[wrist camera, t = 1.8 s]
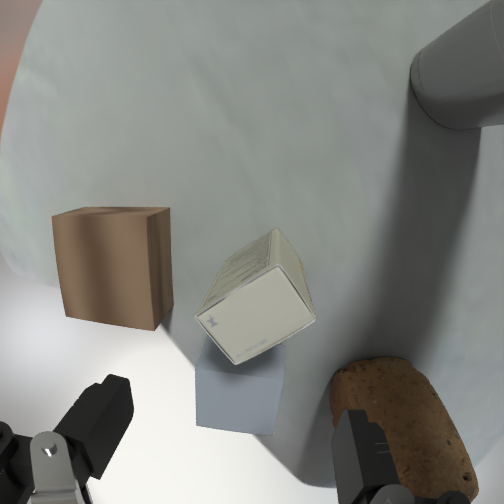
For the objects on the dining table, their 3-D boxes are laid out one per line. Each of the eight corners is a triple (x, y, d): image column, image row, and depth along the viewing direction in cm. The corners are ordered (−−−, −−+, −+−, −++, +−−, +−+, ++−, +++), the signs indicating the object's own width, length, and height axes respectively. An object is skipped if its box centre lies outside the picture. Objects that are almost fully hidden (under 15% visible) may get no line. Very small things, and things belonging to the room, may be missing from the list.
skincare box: (249, 295, 31) (233, 369, 19) (222, 259, 30) (189, 317, 18) (304, 262, 29) (320, 323, 18) (278, 223, 29) (278, 262, 17)
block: (422, 357, 31) (496, 487, 12) (397, 404, 33) (443, 532, 14) (339, 347, 32) (381, 511, 12) (318, 398, 34) (335, 549, 14)
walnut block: (170, 207, 29) (146, 217, 24) (174, 303, 32) (154, 331, 26) (85, 206, 30) (51, 216, 24) (94, 294, 33) (65, 316, 27)
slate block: (283, 344, 32) (283, 379, 26) (274, 399, 34) (272, 435, 29) (208, 335, 33) (195, 368, 27) (207, 391, 35) (196, 425, 29)
